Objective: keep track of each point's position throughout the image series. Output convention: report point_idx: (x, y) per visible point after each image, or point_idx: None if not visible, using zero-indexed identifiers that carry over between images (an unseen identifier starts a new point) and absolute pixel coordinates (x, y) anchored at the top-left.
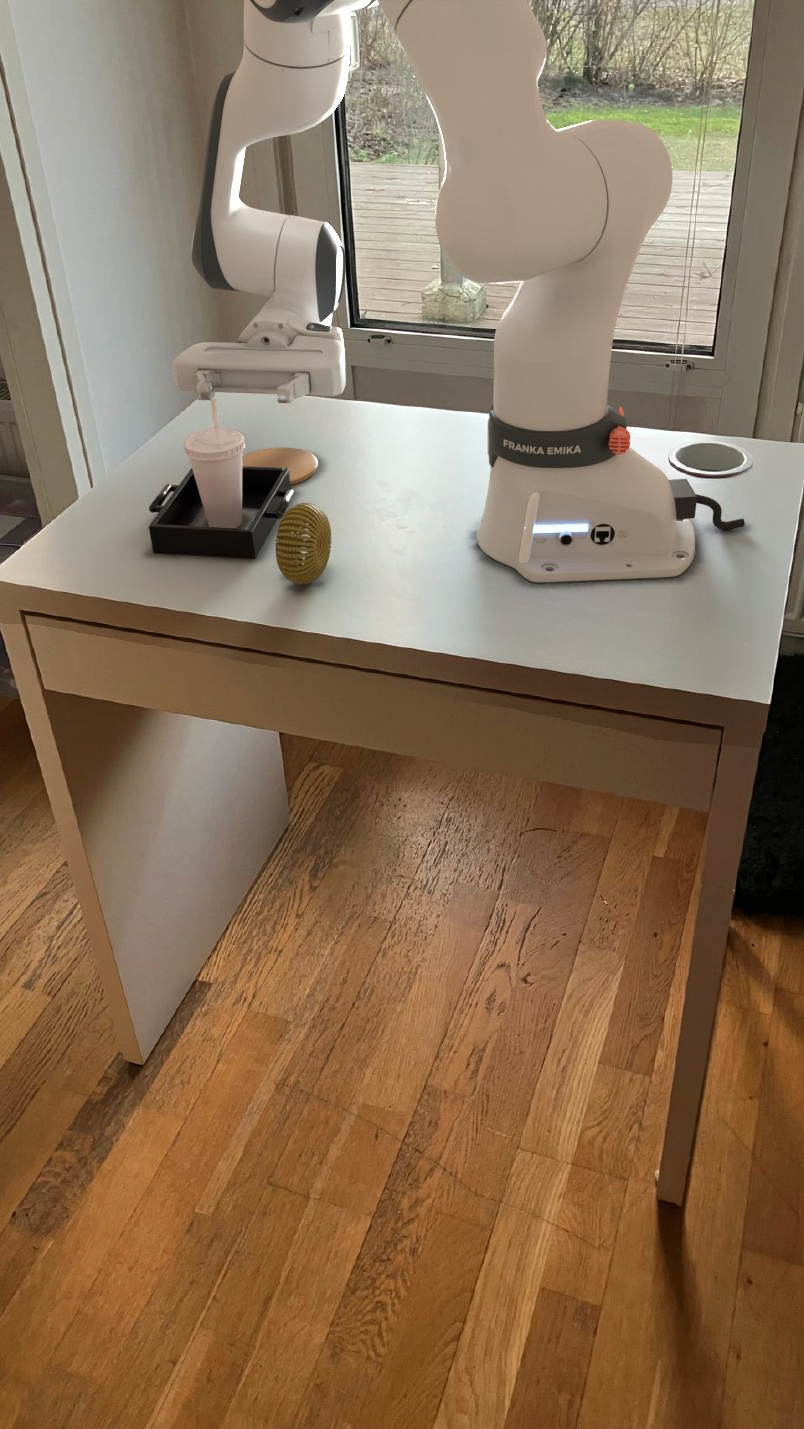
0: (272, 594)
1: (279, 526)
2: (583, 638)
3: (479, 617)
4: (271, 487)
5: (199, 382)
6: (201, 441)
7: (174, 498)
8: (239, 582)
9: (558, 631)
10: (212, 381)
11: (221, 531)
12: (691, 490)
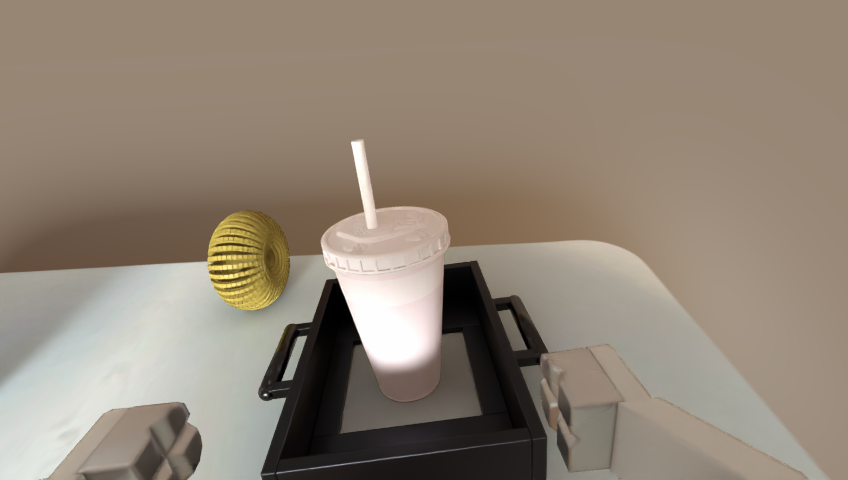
0: (306, 279)
1: (272, 222)
2: (16, 296)
3: (95, 296)
4: None
5: (624, 368)
6: (406, 218)
7: (487, 312)
8: None
9: (31, 298)
10: (572, 409)
11: None
12: None
